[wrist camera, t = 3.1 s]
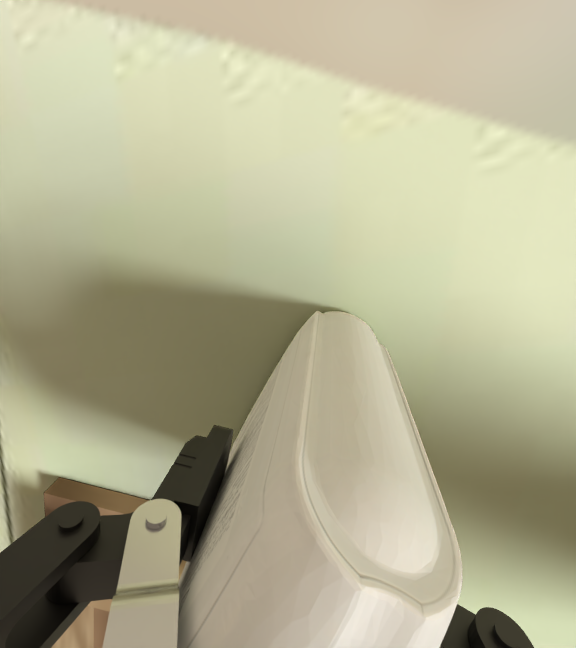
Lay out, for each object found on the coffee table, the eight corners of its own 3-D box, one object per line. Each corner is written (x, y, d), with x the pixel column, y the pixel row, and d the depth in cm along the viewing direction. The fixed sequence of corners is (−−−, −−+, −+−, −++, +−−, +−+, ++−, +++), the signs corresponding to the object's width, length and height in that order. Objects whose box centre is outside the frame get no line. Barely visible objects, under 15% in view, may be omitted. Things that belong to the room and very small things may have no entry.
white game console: (293, 488, 19) (235, 936, 7) (223, 453, 19) (50, 859, 7) (399, 336, 15) (606, 740, 4) (314, 291, 15) (265, 576, 4)
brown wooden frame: (253, 527, 20) (231, 617, 16) (218, 681, 26) (195, 780, 21) (59, 477, 21) (-15, 551, 16) (66, 638, 26) (12, 726, 22)
